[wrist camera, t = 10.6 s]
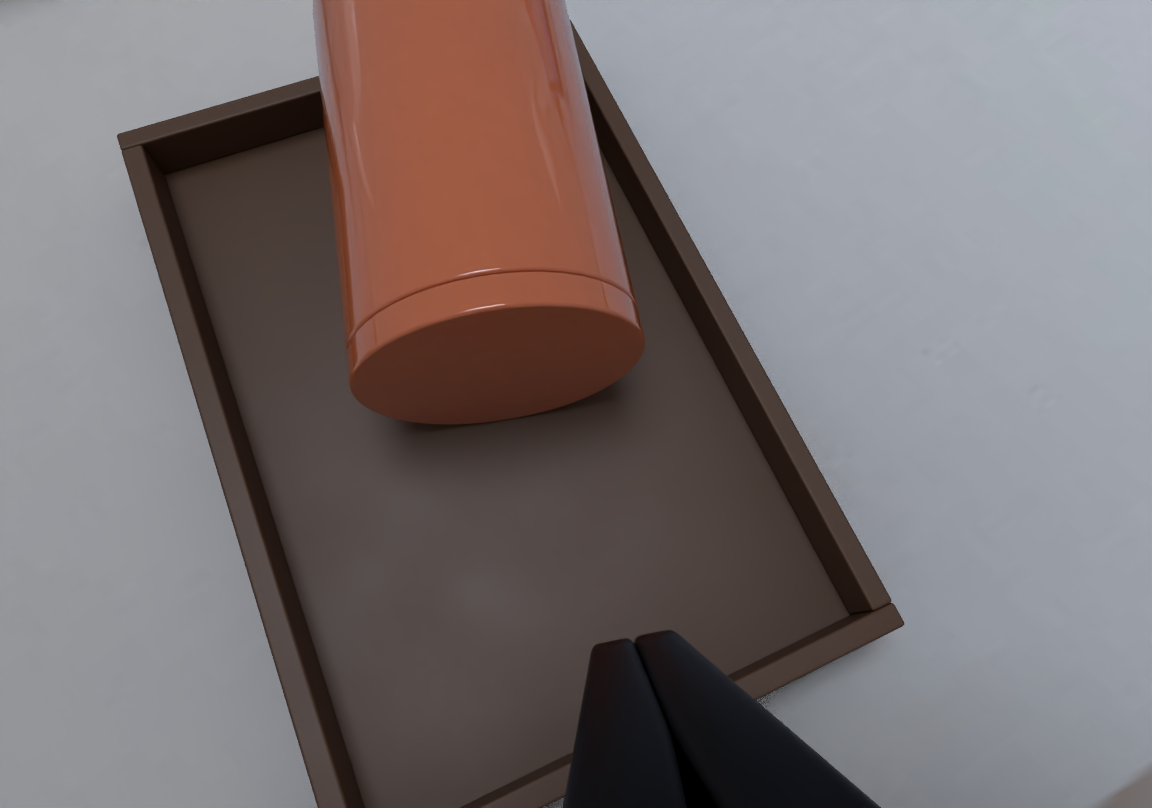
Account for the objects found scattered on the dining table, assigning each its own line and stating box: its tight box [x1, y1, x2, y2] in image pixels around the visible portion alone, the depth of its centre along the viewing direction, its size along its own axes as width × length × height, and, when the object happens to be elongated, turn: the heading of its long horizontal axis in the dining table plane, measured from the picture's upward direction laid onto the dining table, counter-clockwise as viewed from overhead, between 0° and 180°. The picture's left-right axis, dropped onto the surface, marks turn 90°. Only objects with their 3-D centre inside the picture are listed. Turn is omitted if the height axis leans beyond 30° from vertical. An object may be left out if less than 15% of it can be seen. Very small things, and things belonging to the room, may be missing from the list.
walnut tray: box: [117, 20, 904, 808], centre depth 21 cm, size 21×14×2 cm
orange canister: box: [313, 0, 645, 424], centre depth 19 cm, size 7×7×11 cm
